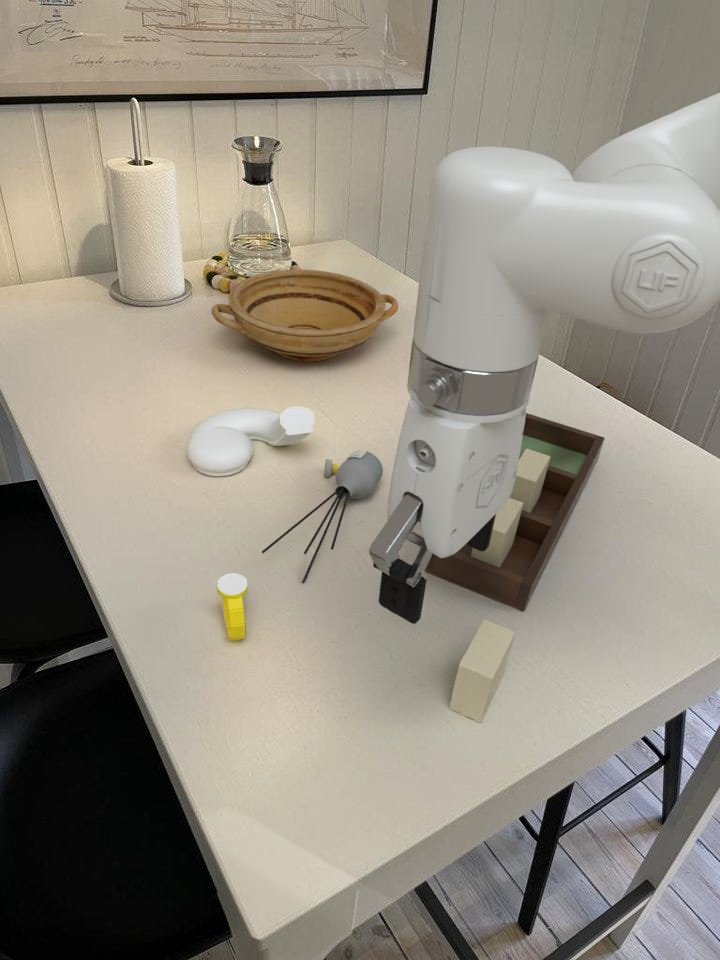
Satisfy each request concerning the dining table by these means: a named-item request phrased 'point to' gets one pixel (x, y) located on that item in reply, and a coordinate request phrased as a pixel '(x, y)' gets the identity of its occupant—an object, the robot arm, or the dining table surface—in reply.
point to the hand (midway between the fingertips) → (435, 575)
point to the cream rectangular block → (481, 670)
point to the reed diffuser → (345, 490)
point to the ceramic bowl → (305, 312)
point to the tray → (531, 517)
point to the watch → (233, 603)
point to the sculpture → (243, 436)
